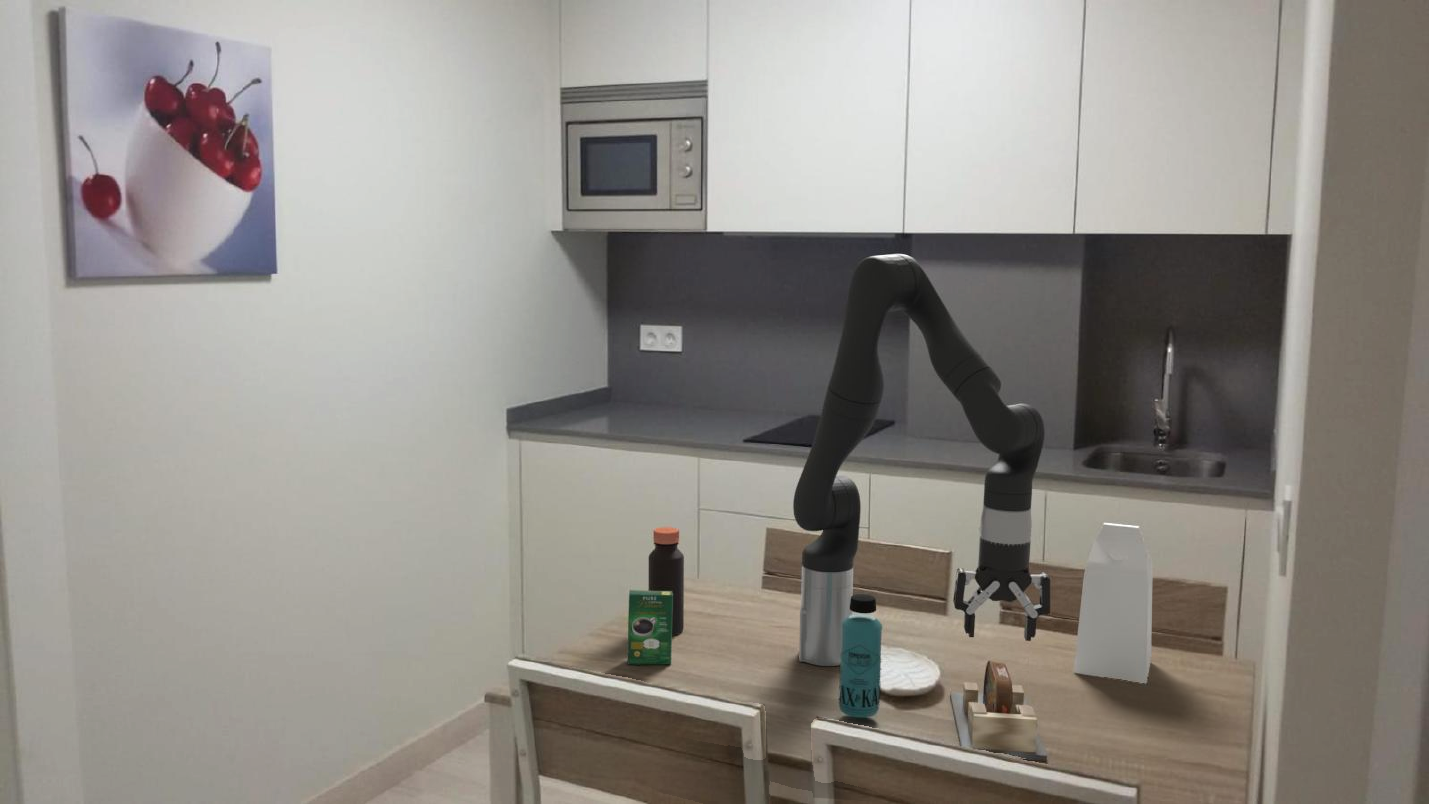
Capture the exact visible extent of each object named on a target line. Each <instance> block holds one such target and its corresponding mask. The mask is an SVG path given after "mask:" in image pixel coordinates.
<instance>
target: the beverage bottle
mask: <svg viewBox="0 0 1429 804" xmlns="http://www.w3.org/2000/svg"><path fill="white" fill-rule="evenodd" d="M850 610H851V611H852V615H850V616H849V617H847V618H846V619H845V620H844V621H843V622H842V649H841V655H840V656H841V657H840V658H841V665H840V666H839V681H838V682H839V684H838V690H839V696H838V702H837V703H838V706H839V711H841V712H842V713H843V714H844V715H847V716H849V717H853V718H869V717H873V716H876V715H877V714H878V711H879V709H880V704H881V689H882V687H881V686H882V683H881V678H882V673H881V671H882V666H881V663H882V662H883V659H882V635H883V634H882V633H883V632H882V630H883V624H882V623H881V621H880V620H878V618H876V617H875V616H874V615H872V613H875V612H877V600H876V597H875V596H873V595H871V594H867V593H857V594H853V596H851V601H850Z"/></svg>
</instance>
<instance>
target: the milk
mask: <svg viewBox="0 0 1429 804" xmlns="http://www.w3.org/2000/svg"><path fill="white" fill-rule="evenodd" d="M1150 553H1151V552H1150V551H1149V548H1148V546H1147V543H1146V540H1145V538H1144V535H1143V533H1142V530H1141V527H1140V525H1129V524H1120V523H1111V522H1103V524H1102V525H1101V528H1100V530H1099V531H1098V534H1097V535H1096V537H1095V540H1094V542H1093V545H1092V549H1091V550H1090V554H1089V556H1088V558H1087V562H1086V564H1085V565H1086V566H1085V569H1084V572H1083V581H1082V591H1081V600H1080V608H1079V609H1080V610H1079V618H1078V619H1079V620H1078V628H1077V637H1076V645H1075V646H1076V647H1075V654H1074V655H1075V656H1074V665H1073V673H1074V674H1079V675H1085V676H1090V677H1091V676H1092V677H1097V676H1098V678H1104V677H1111V678H1117V679H1122V680H1121V681H1123V680H1128V681H1127V682H1129V681H1134V682H1133V683H1135V682H1140V683H1139V684H1142V683H1145V684H1144V685H1147V684H1146V683H1148V679H1147V677H1149V674H1148V673H1150V669H1149V668H1151V665H1150V663H1152V627H1153V626H1152V624H1153V623H1152V621H1153V619H1152V618H1153V614H1152V613H1153V570H1154V568H1153V559H1152V556H1151V554H1150Z"/></svg>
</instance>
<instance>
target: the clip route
mask: <svg viewBox="0 0 1429 804" xmlns="http://www.w3.org/2000/svg"><path fill="white" fill-rule="evenodd" d="M962 689H963V690H962V692H951V691H950V692H949V698H950V702H951V707H952V708H951V709H952V711H953V716H954V717H953V718H954V721H955V726H956V731H957V736H958V740H960V741H959V745H961V746H964V747H969V748H973V749H978V750H986V751H989V752H993V753H1004V754H1009V755H1012V756H1018V757H1021V758H1026V759H1028V760H1027V761H1041V762H1044V761H1045V762H1047V761H1048V755H1047V752H1046V749H1045V746H1044V743H1043V741H1042V740H1041V736H1040V734H1039V731H1038V728H1037V727H1038V717H1037V716H1036V713H1035V710H1034V709H1033V706H1030V705H1029V704H1028V702H1027V700H1026V697H1025V691H1024V689H1023V686H1022V685H1020V684H1019V685H1018V684H1012V689H1013V701H1012V707H1011V712H1010V714H1005V713H988V712H986V708H985V705H984V704H983V693H979V687H978V684H977V682H966V681H965V682H964V681H963V687H962ZM961 746H960V747H961Z"/></svg>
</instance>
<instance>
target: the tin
mask: <svg viewBox="0 0 1429 804" xmlns="http://www.w3.org/2000/svg"><path fill="white" fill-rule="evenodd" d="M1012 685H1013V682H1012V679H1011V676H1010V673H1009V671H1008V667H1007V665H1006V663H1004V662H999V661H992V660H988V661H987V662H986V666H985V672H984V679H983V690H982V691H983V693H982V694H983V704H984V705H985V708H986V712H988V713H1005V714H1010V712H1011V707H1012V701H1013V689H1012Z"/></svg>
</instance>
